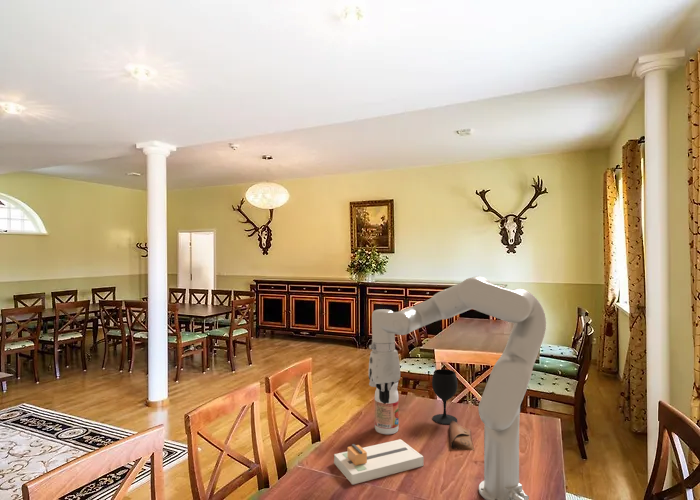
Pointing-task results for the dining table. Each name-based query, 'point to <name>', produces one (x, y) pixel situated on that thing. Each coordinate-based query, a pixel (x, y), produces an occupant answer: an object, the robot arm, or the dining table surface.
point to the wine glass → (444, 392)
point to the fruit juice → (387, 412)
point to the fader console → (380, 461)
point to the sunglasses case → (460, 437)
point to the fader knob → (357, 454)
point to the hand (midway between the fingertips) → (384, 401)
